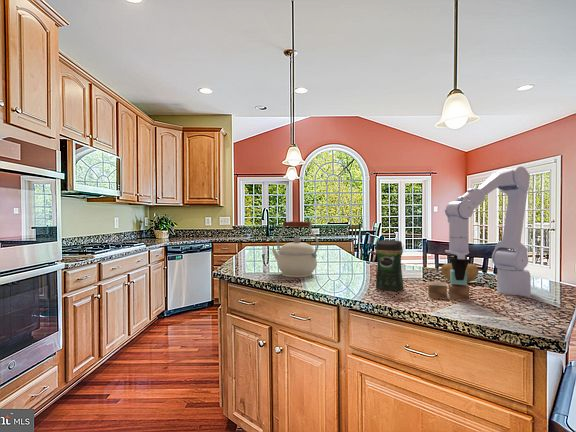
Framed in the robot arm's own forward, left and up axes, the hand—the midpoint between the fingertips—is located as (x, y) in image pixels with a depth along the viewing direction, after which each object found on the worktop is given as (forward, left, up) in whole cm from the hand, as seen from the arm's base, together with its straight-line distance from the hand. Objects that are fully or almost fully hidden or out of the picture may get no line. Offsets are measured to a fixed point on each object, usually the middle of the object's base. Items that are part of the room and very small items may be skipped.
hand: (458, 278), depth 114 cm
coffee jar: (+23, -7, -7) cm, 25 cm away
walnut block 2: (0, 0, -6) cm, 6 cm away
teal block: (0, 0, -1) cm, 1 cm away
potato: (-3, -32, -7) cm, 33 cm away
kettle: (+67, -26, -7) cm, 72 cm away
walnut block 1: (+7, 0, -6) cm, 9 cm away
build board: (+1, -1, -7) cm, 7 cm away
